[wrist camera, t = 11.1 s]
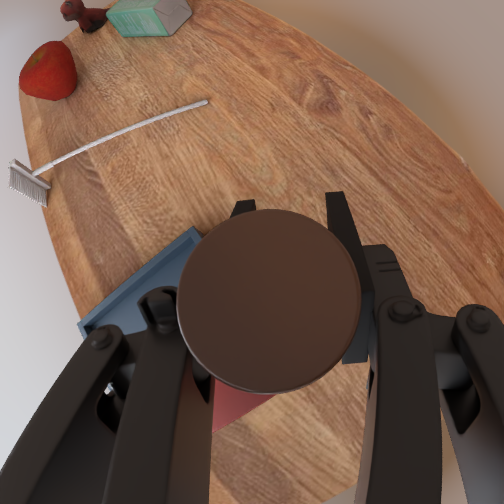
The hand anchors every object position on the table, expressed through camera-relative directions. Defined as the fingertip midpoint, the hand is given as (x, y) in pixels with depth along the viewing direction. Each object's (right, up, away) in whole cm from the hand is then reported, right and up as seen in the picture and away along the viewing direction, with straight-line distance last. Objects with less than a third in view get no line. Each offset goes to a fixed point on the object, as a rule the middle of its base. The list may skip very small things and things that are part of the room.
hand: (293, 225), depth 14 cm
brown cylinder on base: (-1, -6, +2) cm, 7 cm away
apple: (-36, +29, +32) cm, 56 cm away
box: (-19, +41, +32) cm, 55 cm away
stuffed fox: (-36, +51, +38) cm, 73 cm away
